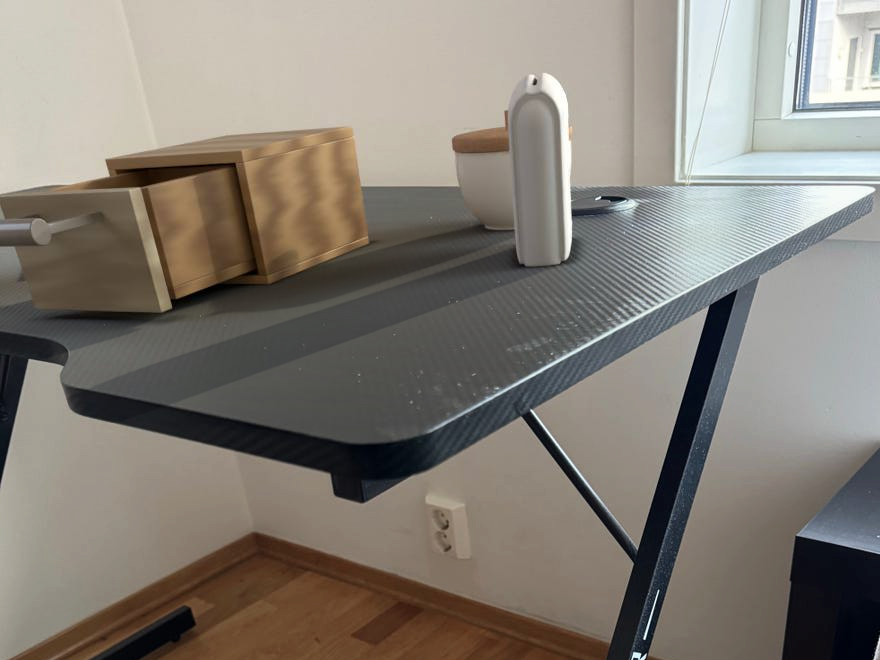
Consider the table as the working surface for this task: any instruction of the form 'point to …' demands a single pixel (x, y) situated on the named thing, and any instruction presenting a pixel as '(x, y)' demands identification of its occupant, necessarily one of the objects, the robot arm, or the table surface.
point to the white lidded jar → (488, 174)
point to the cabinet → (281, 193)
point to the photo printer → (540, 171)
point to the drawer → (130, 238)
